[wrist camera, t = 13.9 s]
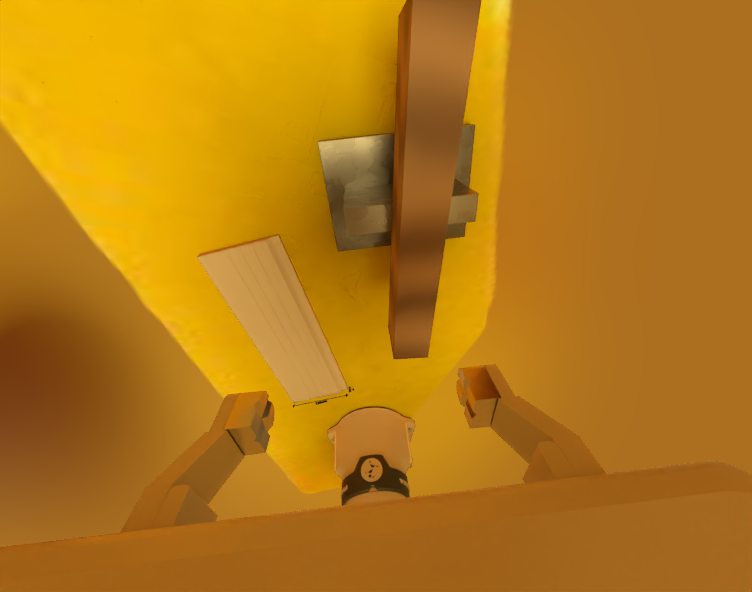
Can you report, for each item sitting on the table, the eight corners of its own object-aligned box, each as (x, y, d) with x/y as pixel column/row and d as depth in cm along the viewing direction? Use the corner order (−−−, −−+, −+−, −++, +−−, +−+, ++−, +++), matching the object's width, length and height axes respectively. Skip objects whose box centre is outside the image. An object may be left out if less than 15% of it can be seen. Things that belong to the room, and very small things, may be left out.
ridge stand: (460, 232, 36) (489, 263, 28) (338, 246, 36) (335, 282, 28) (469, 124, 29) (510, 128, 22) (319, 140, 29) (308, 151, 21)
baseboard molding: (290, 229, 35) (202, 251, 35) (286, 238, 32) (191, 262, 33) (355, 383, 52) (294, 395, 53) (355, 396, 49) (292, 409, 50)
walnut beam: (398, 16, 18) (413, -14, 13) (452, 17, 18) (483, -12, 14) (388, 327, 32) (393, 359, 28) (417, 325, 32) (427, 357, 28)
